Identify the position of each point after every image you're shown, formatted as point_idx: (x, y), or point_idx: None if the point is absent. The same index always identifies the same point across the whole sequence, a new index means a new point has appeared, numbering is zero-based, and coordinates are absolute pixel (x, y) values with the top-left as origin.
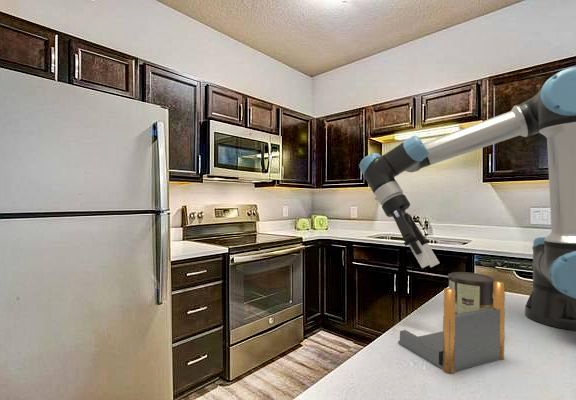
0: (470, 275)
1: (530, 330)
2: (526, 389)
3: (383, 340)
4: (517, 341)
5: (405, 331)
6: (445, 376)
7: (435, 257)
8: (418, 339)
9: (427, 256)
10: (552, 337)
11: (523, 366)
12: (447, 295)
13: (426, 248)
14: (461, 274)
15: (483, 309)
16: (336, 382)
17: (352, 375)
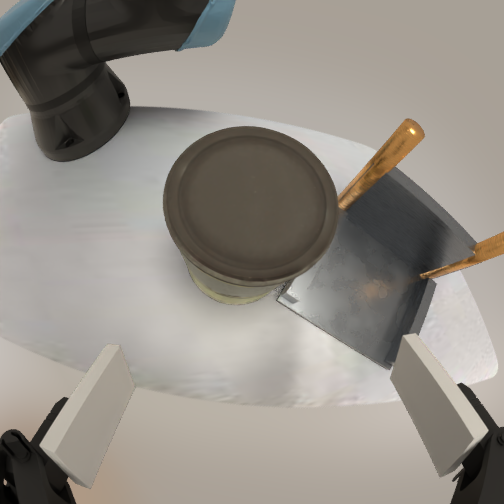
0: (219, 197)
1: (159, 152)
2: None
3: (388, 394)
4: None
5: None
6: None
7: (105, 372)
8: (419, 324)
9: (435, 357)
10: (180, 127)
11: (343, 179)
12: None
13: (81, 443)
14: (219, 232)
15: (415, 193)
16: (486, 369)
17: (474, 365)
